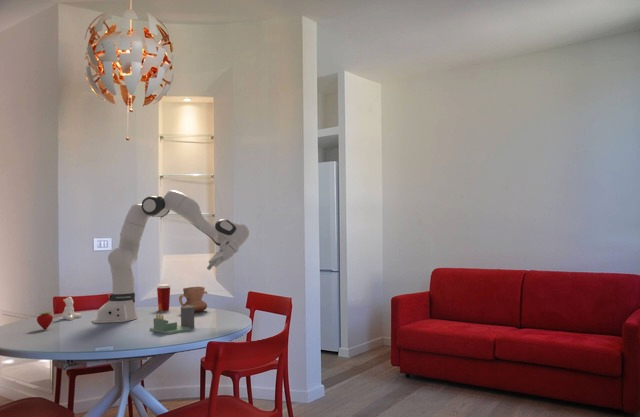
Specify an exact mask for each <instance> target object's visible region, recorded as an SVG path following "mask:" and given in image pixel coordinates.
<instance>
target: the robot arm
mask: <svg viewBox="0 0 640 417" xmlns="http://www.w3.org/2000/svg"><path fill="white" fill-rule="evenodd" d="M170 211H172V212H174V213H176V214H178V215H179V216H180V217H182V218H184V219H185V220H187V221H188V222H189V223H190V224H191V225H193V226H194V227H195V228H196V229H197V230H199V231H200V232H202V233H204V234H205V235H206V236H208V237H209V239H211V240H212V242H213V243H214V244H215V245H217V246H218V247H219V250H218V251H217V252H216V253H215V254H214V255H212V256H211V258H210V259H209V260H208V266H207V267H206V269H207V270H208V271H210V270H211V269H213V267H215V268H217V267H219V266H220V264H222V263H223V262H226V261H228V260H230V258H232V257H233V256H234V255H235V254H236V253H237V252H239V249H240V247H241V246H242V245H244V244H245V242H246V240H247V239H248V238H249V235H250V231H249V228H248V227H247V226H246V225H245V224H243V223H237V222H233V221H230V220H229V219H226V218H221V219H218V220H217V221H216V222H215V224H214V225H213V224H212V223H210V222H209V221H207V219H205V217H204V215H203V214H202V211H201V208H200V205H199V203H198V202H197V201H195V199H193V198H192V197H190V196H189V195H186V194H185V193H183V192H180V191H177V190H176V189H175V190H174V189H172V190H169V191H167V192H166V193H165V195H164V196H163V197H162V195H151V196H147V197H145V198H144V199H143V200H142V202H141V203H134V204H132V205H131V207H130V209H129V210H128V212H127V214H126V216H125V219H124V221H123V225H122V227H121V230H120V234H119V244H118V247H116V248H114V249H113V250H111V251H110V253H109V254H108V257H107V261H108V264H109V268H110V272H111V278H112V279H111V280H112V293H108V294H107V297H108V301H107V302H106V303H104V304H103V305H102V306H101V307H99V309H98V310H97V314H96V317H94V318H93V319H92V323H94V324H98V323H99V324H101V323H103V324H104V323H105V324H107V323H124V322H125V323H126V322H128V321H133V320H137V319H138V316H137V311H136V306H135V305H136V304H135V303H136V293H135V277H134V274H133V270H132V266H133V265H135V263H137V260H138V254H139V250H140V243H141V240H142V237H143V234H144V231H145V228H146V224H147V222H148V220H149V218H151V217H152V218H162V217H166V216H167V215H168V214H169V213H170Z"/></svg>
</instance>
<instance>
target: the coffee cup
mask: <svg viewBox="0 0 640 417" xmlns="http://www.w3.org/2000/svg"><path fill="white" fill-rule="evenodd" d="M156 291H157V293H156V295H157V306H158V307H157V310H158V311H159V312H167V311H169V310H170V302H171V301H170V299H171V298H170V297H171V284H165V283H164V284H157V286H156Z"/></svg>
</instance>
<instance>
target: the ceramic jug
mask: <svg viewBox="0 0 640 417" xmlns="http://www.w3.org/2000/svg"><path fill="white" fill-rule="evenodd" d="M182 291H183V293H181V294H180V295H179V297H178V301H179V304H180V307H185V306H186V305H187V306H192V307H194V314H195V313H200V312H203V311H205V310H206V309H207V307H208V304H207V303H206V302H205V301H203V299H202V298H203V296H204V295H205V294H206V295H207V294H208V293H209V292H208V291H207V290H205V286H190V287H183V288H182ZM184 297H185V299H186V301H185V302H184V303H183V298H184Z"/></svg>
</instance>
